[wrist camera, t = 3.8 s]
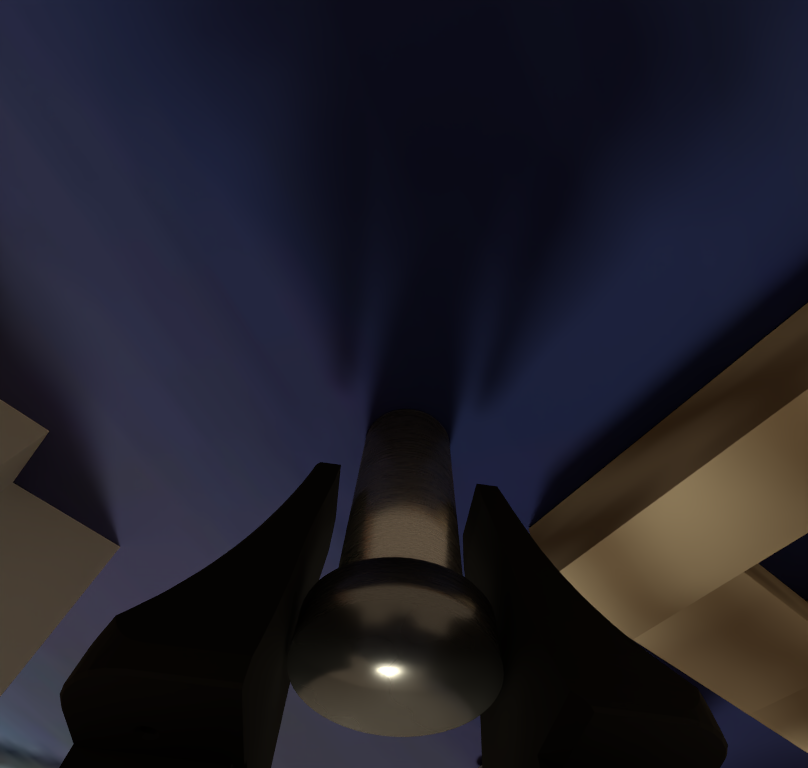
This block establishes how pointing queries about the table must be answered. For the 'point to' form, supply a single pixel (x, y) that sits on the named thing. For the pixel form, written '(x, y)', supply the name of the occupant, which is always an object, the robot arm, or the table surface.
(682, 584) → the square wooden frame
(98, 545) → the corner bracket
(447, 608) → the steel pin
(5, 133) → the table surface
